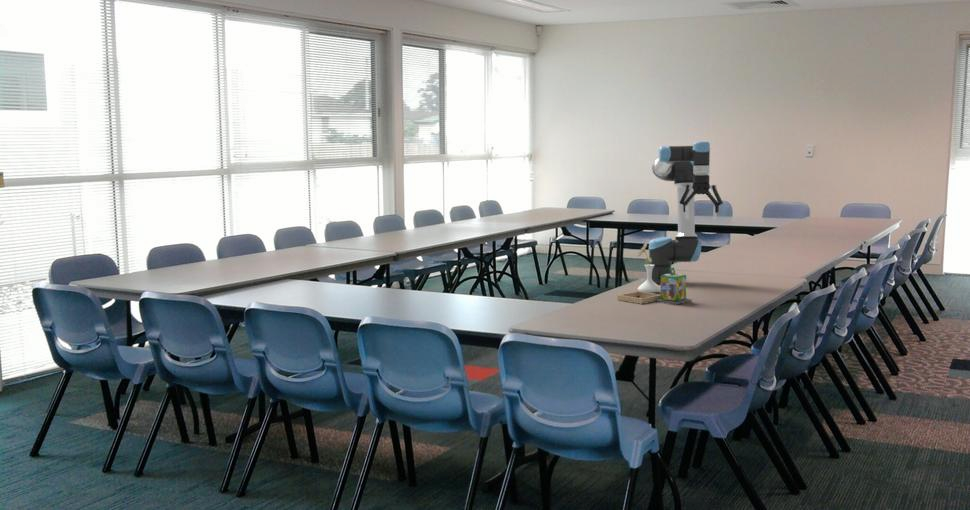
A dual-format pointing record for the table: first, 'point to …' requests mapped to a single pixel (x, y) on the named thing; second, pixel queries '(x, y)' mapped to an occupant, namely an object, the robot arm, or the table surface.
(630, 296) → the light wooden square frame
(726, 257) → the table surface
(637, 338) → the table surface
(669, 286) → the chalk box
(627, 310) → the table surface
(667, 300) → the charcoal mat
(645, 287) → the flower in vase
